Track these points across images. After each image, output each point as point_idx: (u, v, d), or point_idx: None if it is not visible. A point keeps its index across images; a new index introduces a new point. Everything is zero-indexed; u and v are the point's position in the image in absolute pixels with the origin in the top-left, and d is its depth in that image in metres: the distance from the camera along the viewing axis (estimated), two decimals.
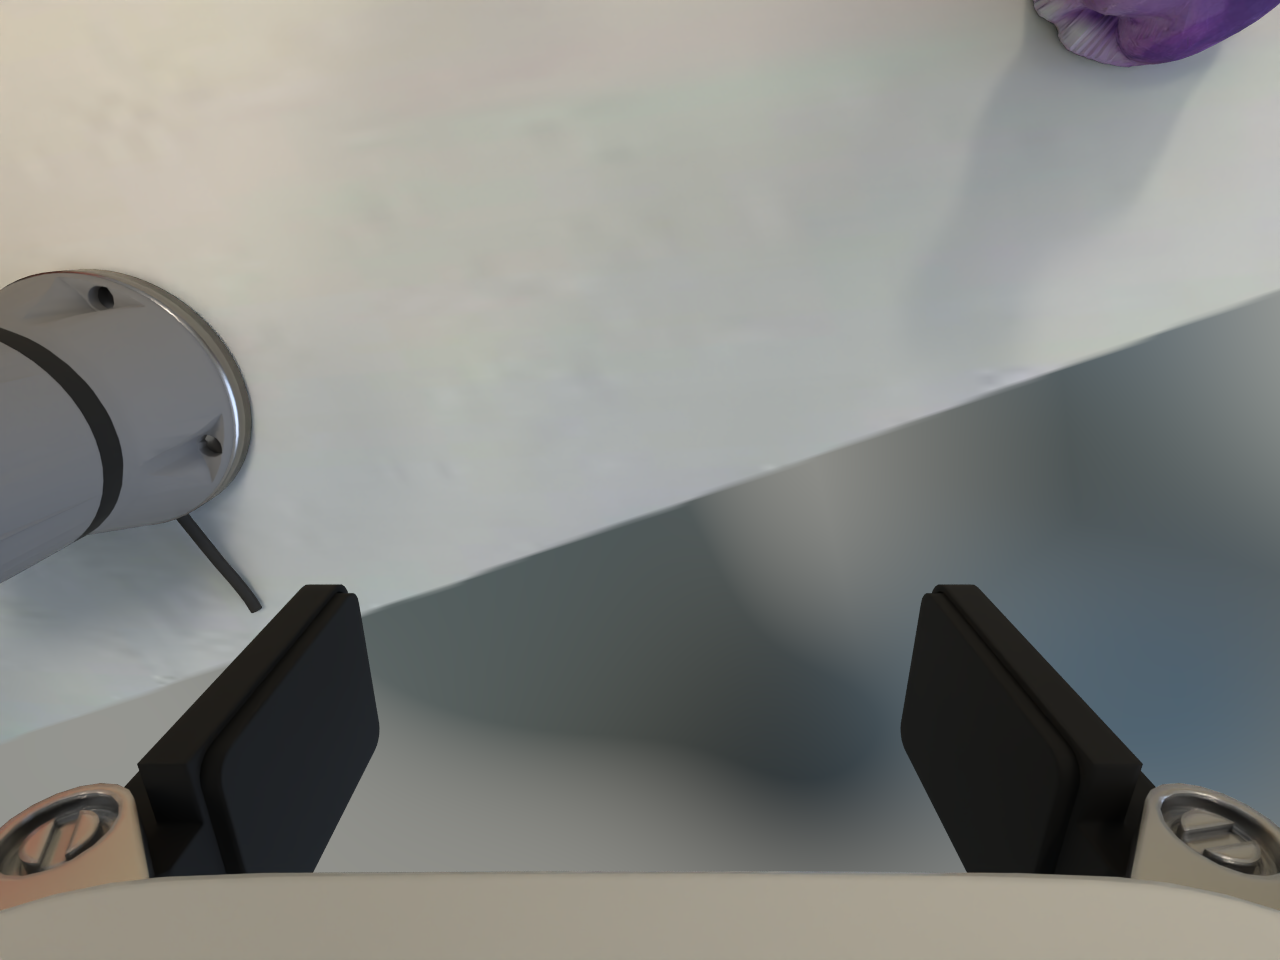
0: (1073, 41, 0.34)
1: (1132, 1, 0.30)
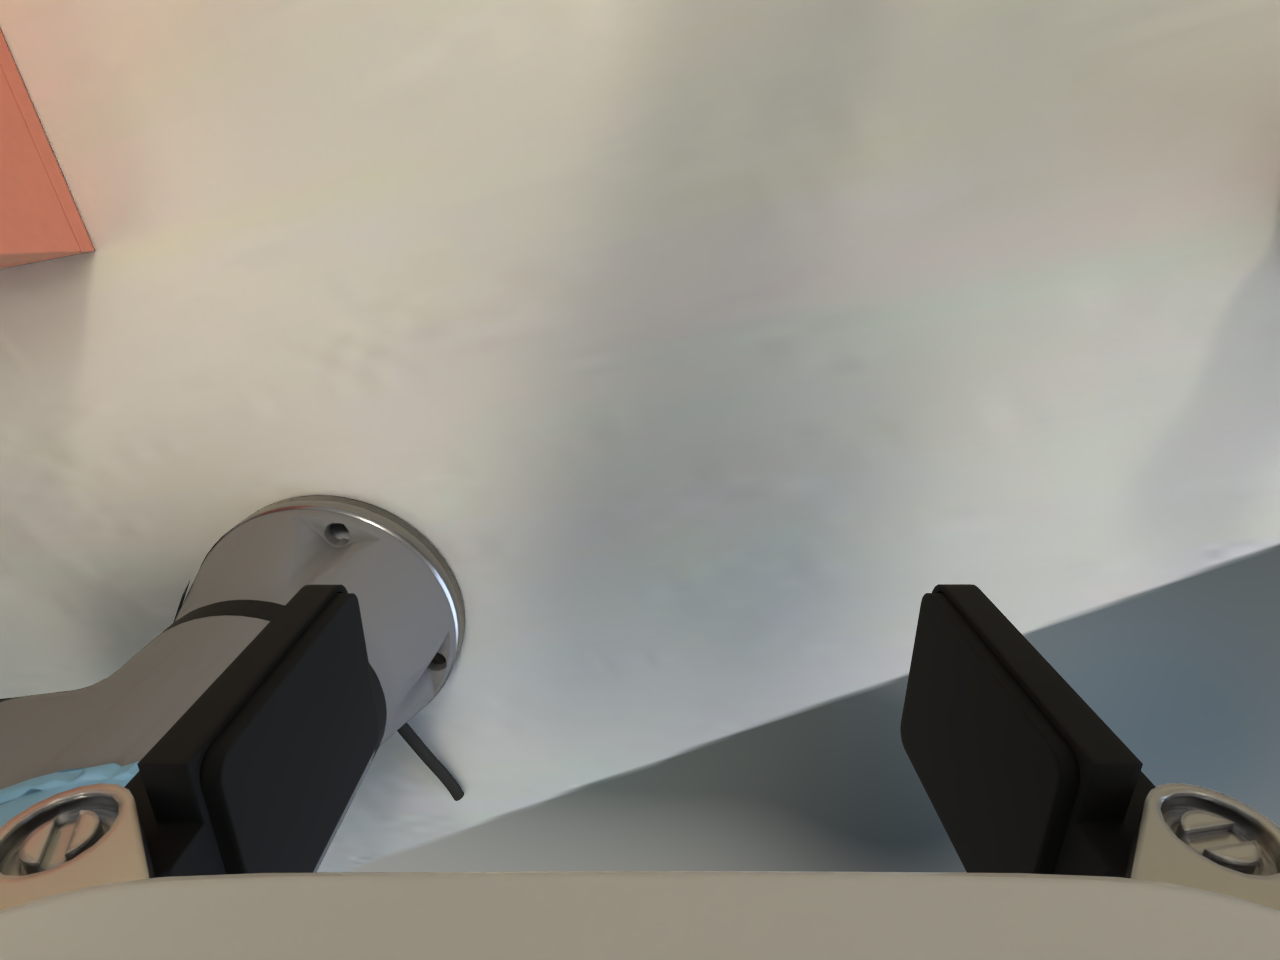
0: None
1: None
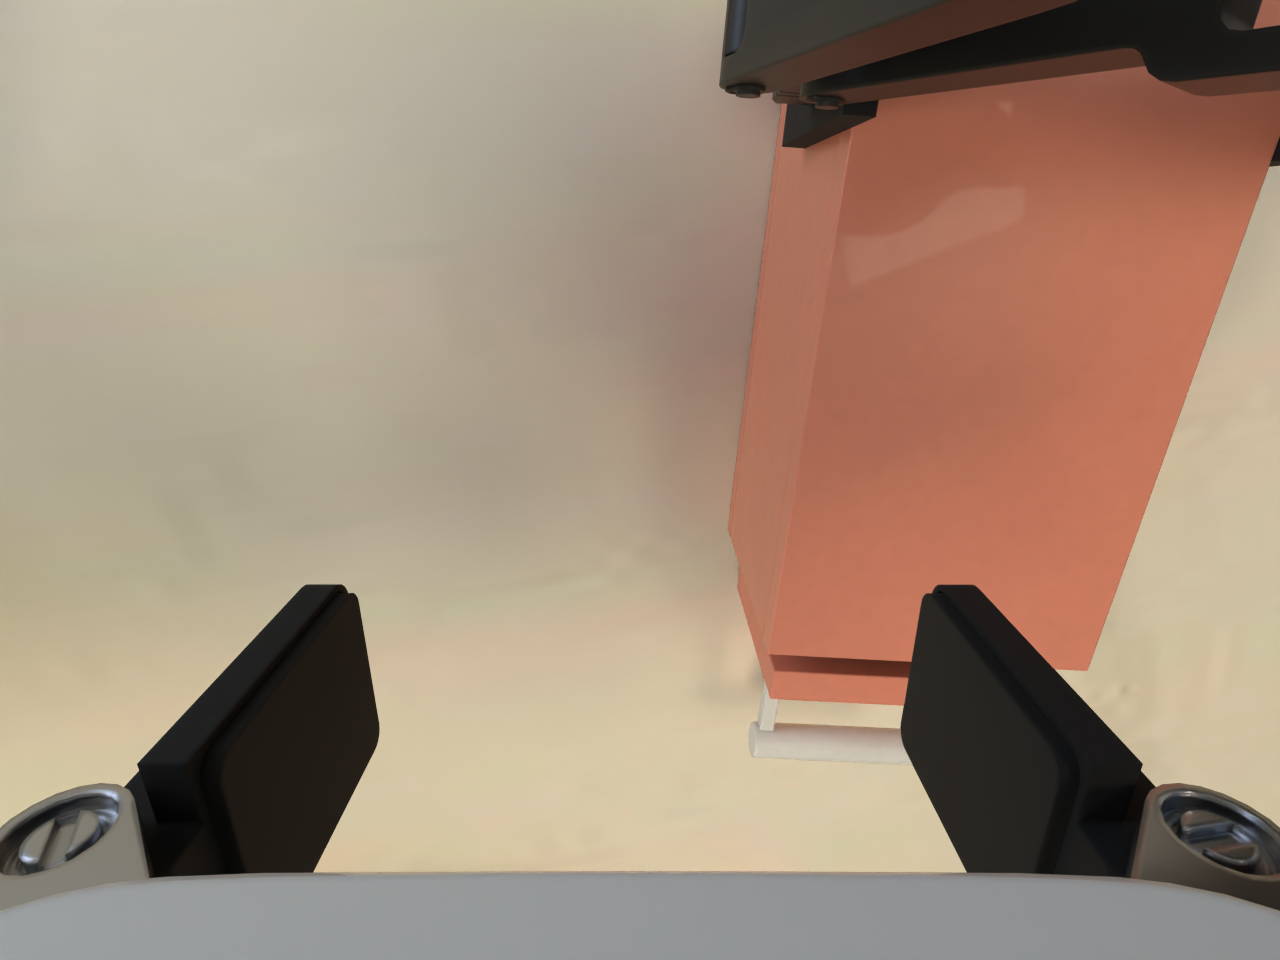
0: None
1: None
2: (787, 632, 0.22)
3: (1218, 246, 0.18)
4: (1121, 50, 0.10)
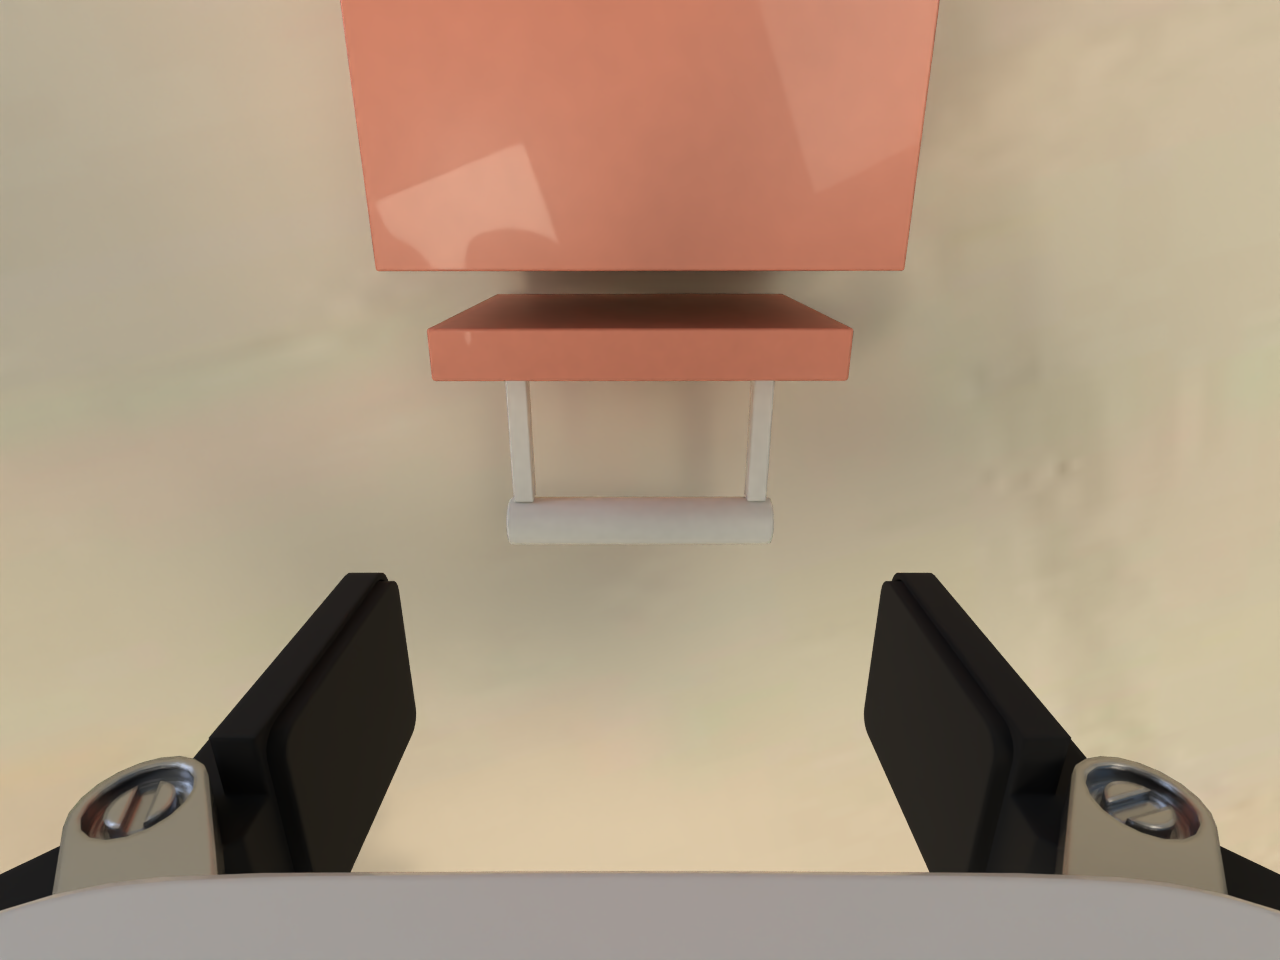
0: None
1: None
2: (396, 224, 0.13)
3: None
4: None
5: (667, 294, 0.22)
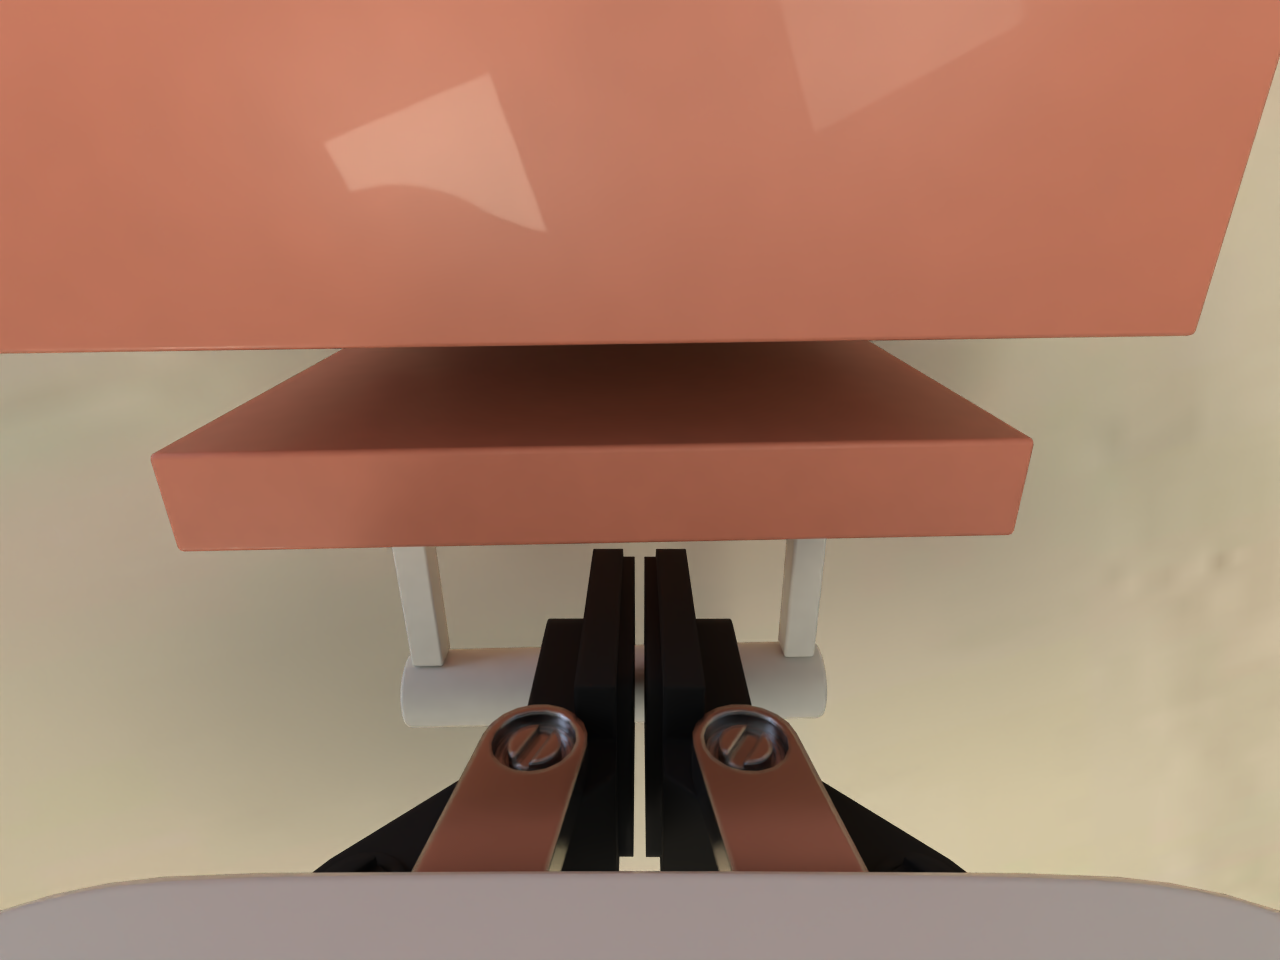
0: None
1: None
2: None
3: None
4: None
5: None
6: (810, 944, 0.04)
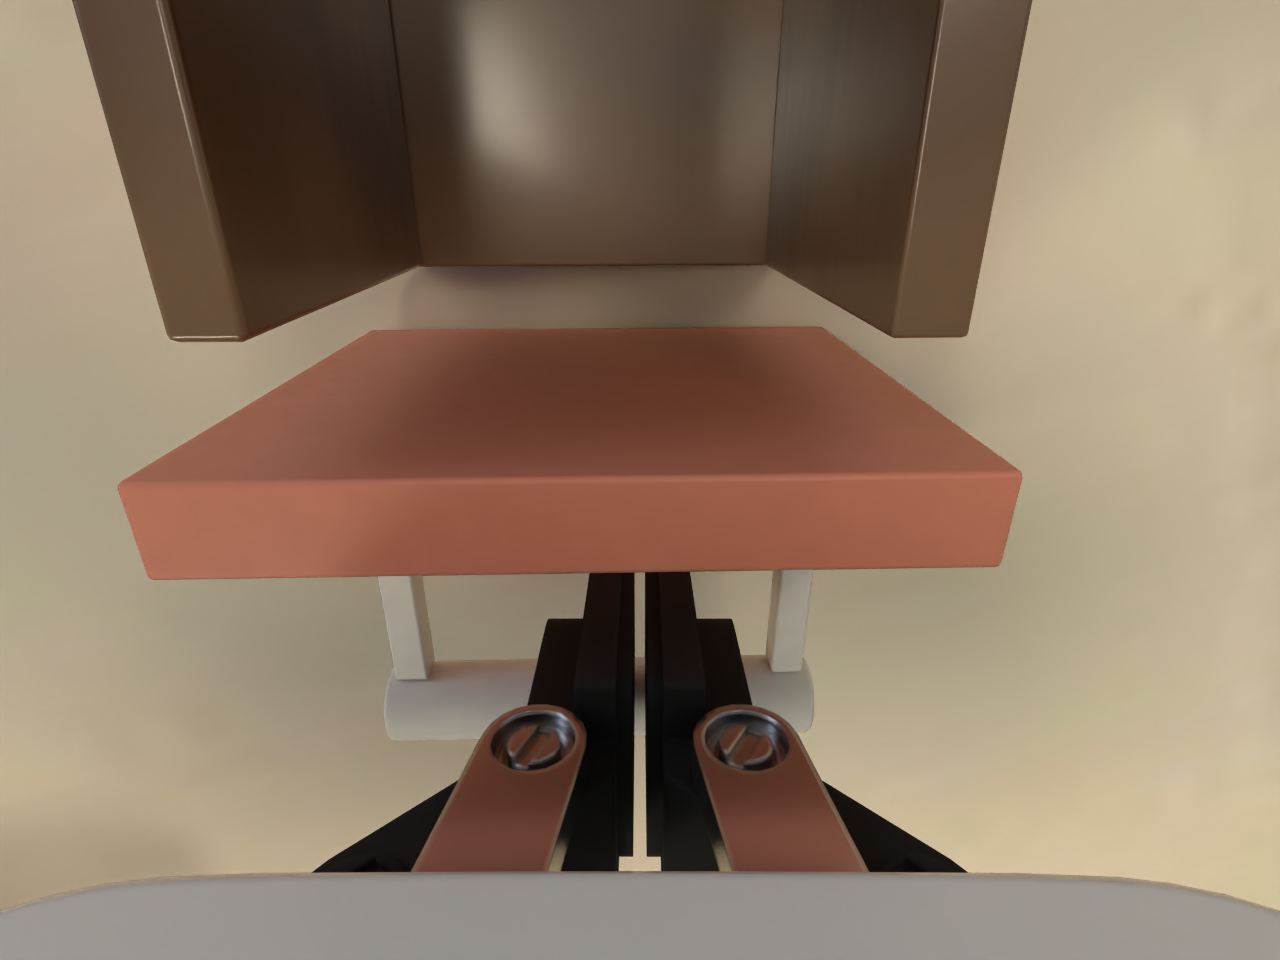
0: None
1: None
2: None
3: None
4: None
5: (641, 329, 0.14)
6: (810, 944, 0.04)
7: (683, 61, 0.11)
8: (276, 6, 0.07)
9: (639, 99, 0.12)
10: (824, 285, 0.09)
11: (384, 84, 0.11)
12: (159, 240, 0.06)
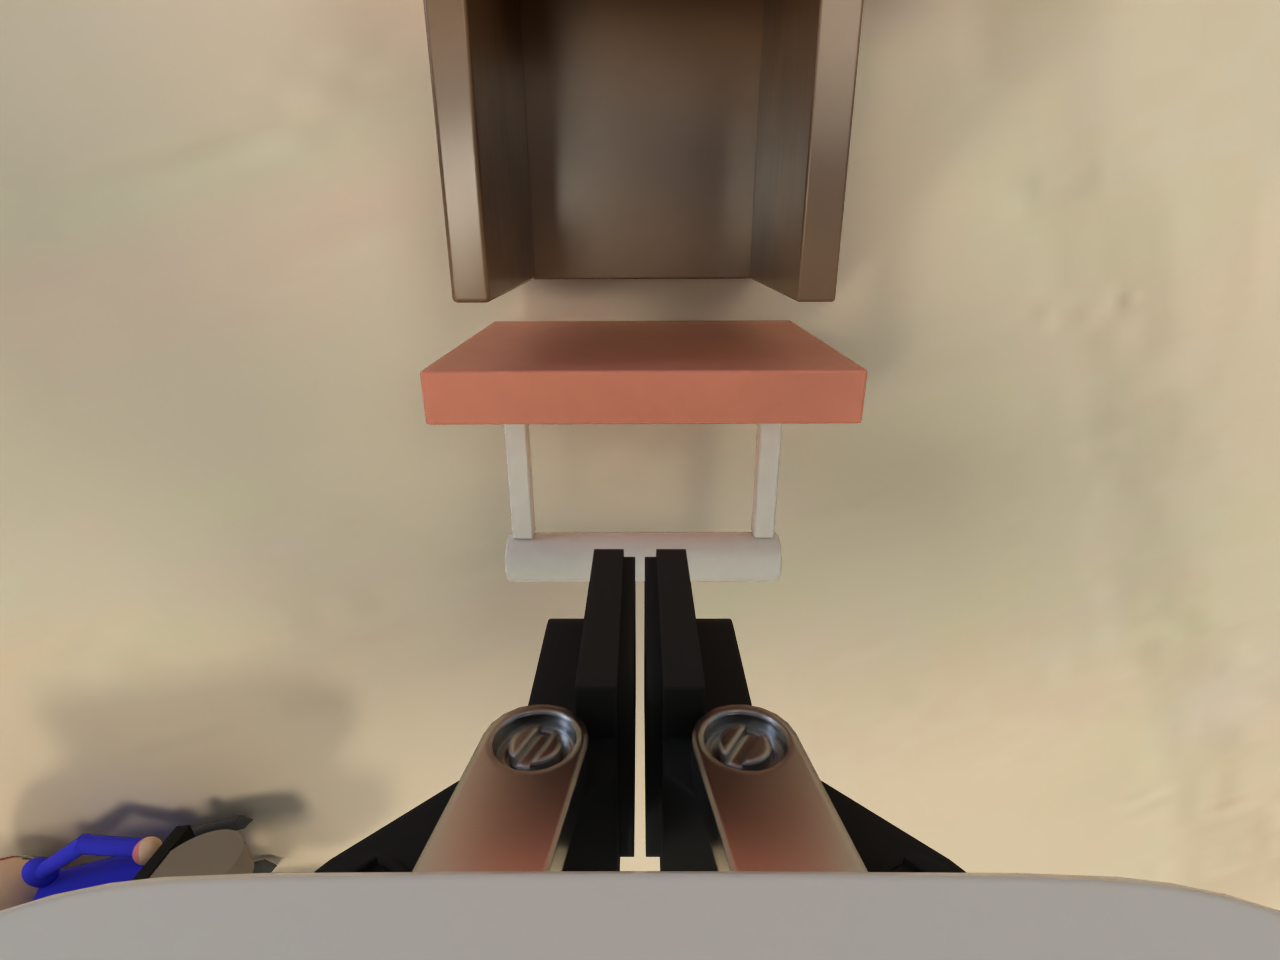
0: None
1: None
2: None
3: None
4: None
5: (670, 321, 0.22)
6: (810, 944, 0.04)
7: (698, 156, 0.19)
8: (498, 144, 0.15)
9: (671, 178, 0.19)
10: (775, 283, 0.16)
11: (524, 171, 0.18)
12: (457, 254, 0.14)
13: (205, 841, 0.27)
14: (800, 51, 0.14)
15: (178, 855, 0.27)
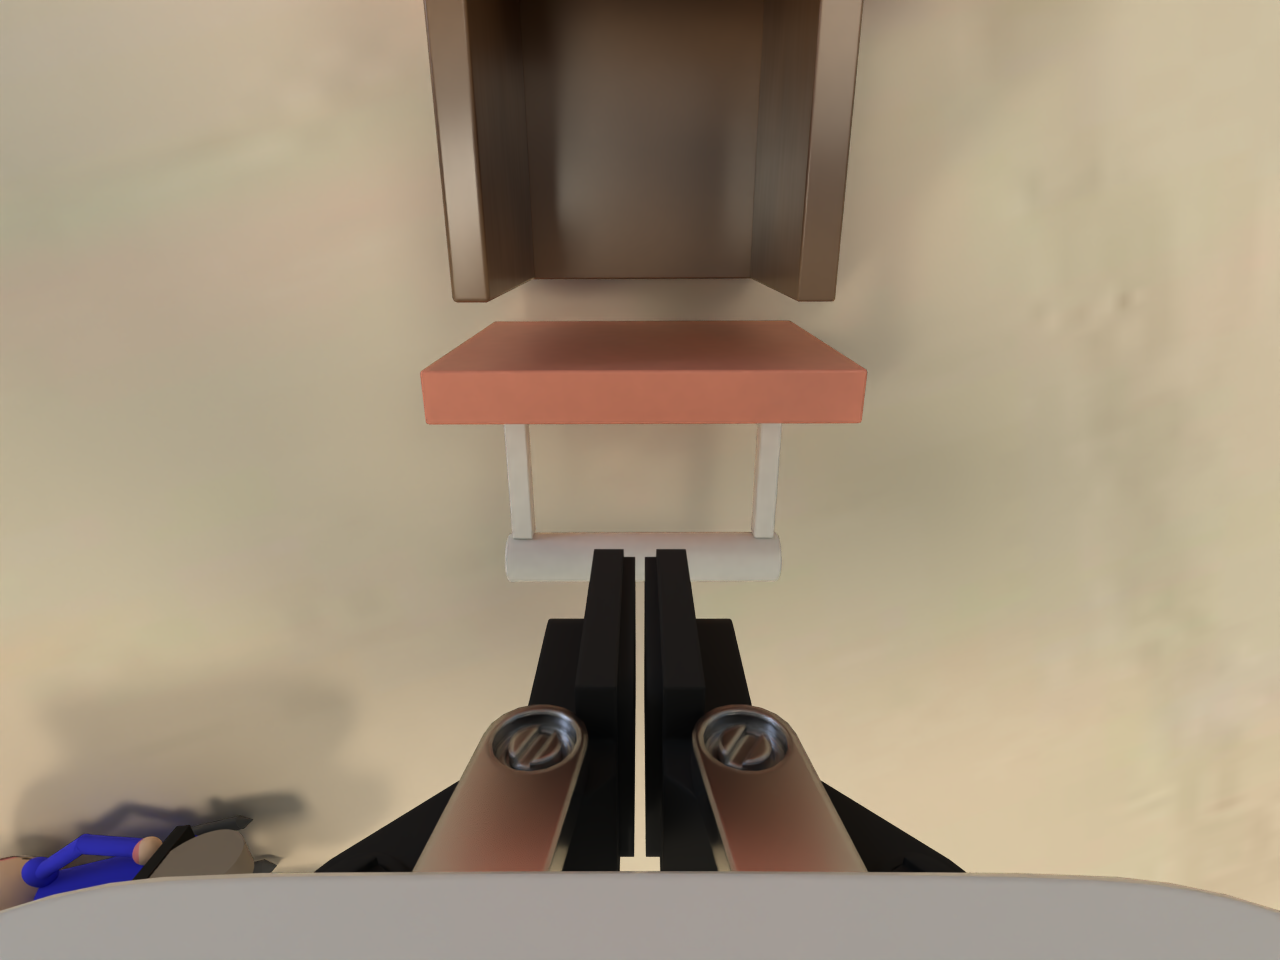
0: None
1: None
2: None
3: None
4: None
5: (670, 321, 0.22)
6: (810, 944, 0.04)
7: (698, 156, 0.19)
8: (498, 144, 0.15)
9: (671, 178, 0.19)
10: (775, 283, 0.16)
11: (524, 171, 0.18)
12: (457, 254, 0.14)
13: (205, 841, 0.27)
14: (800, 51, 0.14)
15: (178, 855, 0.27)
